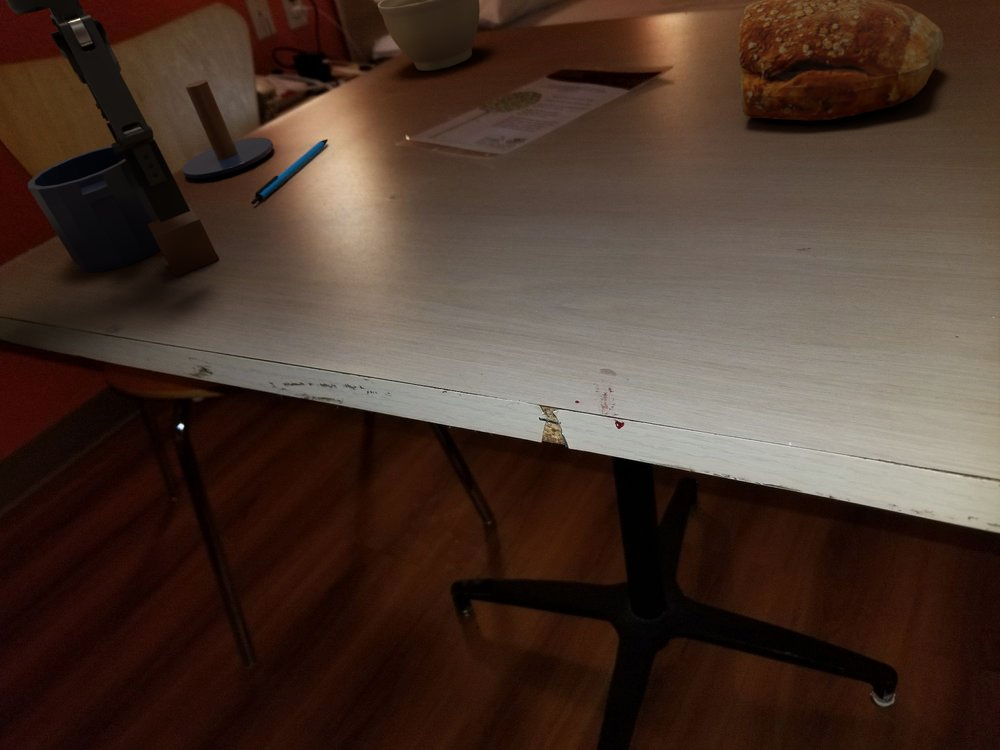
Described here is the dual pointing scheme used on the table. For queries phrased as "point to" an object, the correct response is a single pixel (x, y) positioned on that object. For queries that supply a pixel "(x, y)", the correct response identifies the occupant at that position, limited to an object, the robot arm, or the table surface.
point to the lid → (220, 140)
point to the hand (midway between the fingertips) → (163, 197)
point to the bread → (832, 57)
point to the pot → (97, 210)
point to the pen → (287, 172)
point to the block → (183, 242)
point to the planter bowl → (432, 30)
